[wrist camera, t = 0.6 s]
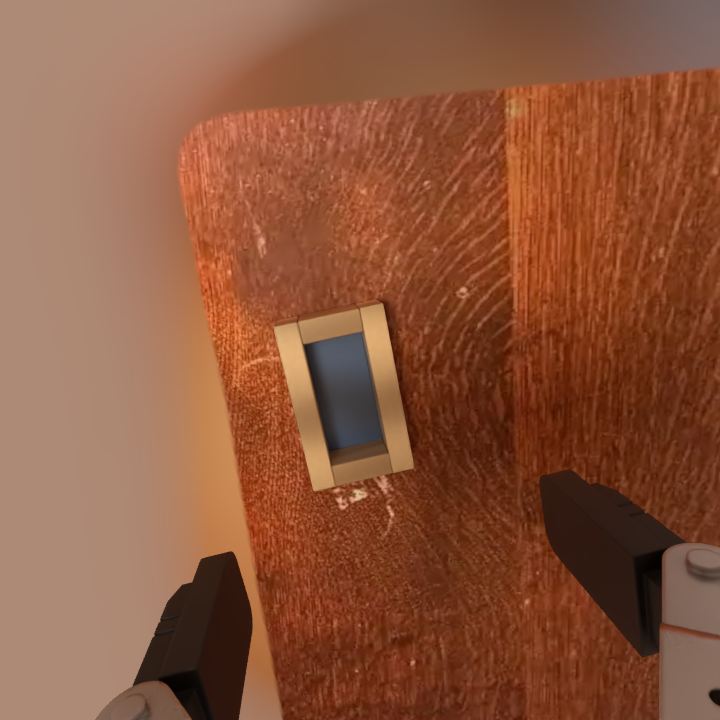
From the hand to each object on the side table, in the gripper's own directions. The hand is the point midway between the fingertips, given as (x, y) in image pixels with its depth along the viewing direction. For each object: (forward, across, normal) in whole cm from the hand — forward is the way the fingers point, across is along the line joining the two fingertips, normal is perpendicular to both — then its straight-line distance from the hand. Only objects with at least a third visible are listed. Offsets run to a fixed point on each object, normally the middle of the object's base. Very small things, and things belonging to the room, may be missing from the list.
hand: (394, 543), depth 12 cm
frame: (+15, 0, 0) cm, 15 cm away
